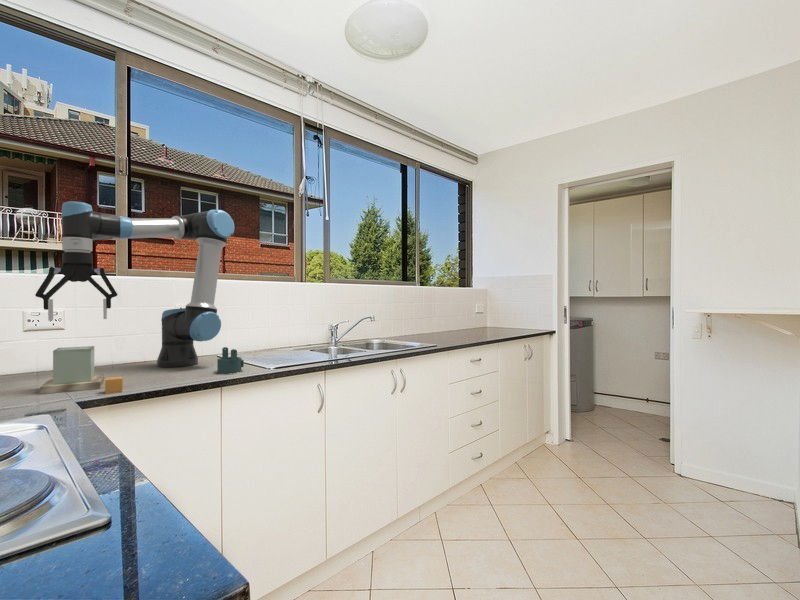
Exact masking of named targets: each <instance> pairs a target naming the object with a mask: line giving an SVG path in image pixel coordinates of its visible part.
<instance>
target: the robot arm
mask: <svg viewBox="0 0 800 600" xmlns="http://www.w3.org/2000/svg"><path fill="white" fill-rule="evenodd" d="M60 218H61V233H62V234H61V235H62V237H61V246H62V247H61V249H62V250H63V253H61V254H62V255H61V256H62V258H61V259H62V260H61V262H62V265H61V267H54V266H50V267H49V268H48V274H47V275H46V277H45V279H44V281H43V282H42V283H41V285H40V286H39V288H38V289H37V291H36V293H35V294H34V297H36V298H40V299H42V300H43V309H44V311H45V310H48V311H47V315H48V317H47V319H48V321H49V322H50V321H51V322H52V321H54V299H52V298H51V297H53V295H55V294H56V292H58V291H59V290H60V289H61V288H62V287H64V285H65V284H66V283H68V282H73V283H76V282H81V283H85V282H89V283H90V284H91V285H92V286H93V287H94V288H95V289H97V290H98V292H99V293H100V294H101V295H102V296H103V297H105V298H103V299H102V302H103V306H102V307H103V309H102V311H103V313H102V314H103V316H102V317H103V320H107V319H108V309H111V308H112V299H113V298H115V297H118V292H117V291H116V290H115V288H114V286H113V285H112V283H111V281H110V279H109V278H108V276H107V275H106V271H105V268H103V267H100V268H94V265H93V264H94V262H93V261H94V259H93V258H94V256H93V253H91V252H93V249H94V248H93V242H94V241H100V240H104V241H105V240H122V239H123V240H124V239H125V240H126V239H149V238H151V239H153V238H174V239H175V240H194V241H196V242H197V244H198V250H197V251H198V252H197V258H196V263H195V270H194V277H193V285H192V291H191V298H190V302H189V303H187V304H186V305H185V308H172V309H166V310H164V311H163V312H162V314H161V319H160V321H161V349H160V352H159V354H158V357H157V360H156V366H157V367H160V368H176V367H177V368H180V367H188V366H194V365H197V364H199V357H198V354H197V352H196V348H195V345H194V342H195V341H196V342H207V341H211V340H213V339H214V338H216V337H217V335H218V334H219V333H220V331H221V327H222V320H221V319H220V316H219V314H217V313H218V308H217V307H216V305H215V298H216V293H217V285H218V284H217V283H218V278H219V273H220V271H219V270H220V263H221V256H222V249H223V248H224V247H226V246H227V242H228V238H230V237H232V236H233V235H234V232H235V223H234V219H233V218H232V216H231V215H230V214H229V213H228V212H226V211H224V210H222V209H210V210H206V211H200V212H194V213H190V214H185V215H173V216H172V217H171V218H169V217H168V218H167V217H166V218H165V217H164V218H161V217H159V218H155V217H154V218H151V217H150V218H148V217H147V218H146V217H141V218H139V217H138V218H137V217H136V218H135V217H134V218H133V217H132V218H131V217H127V216H122V215H121V214H119V215H116V214H112V213H111V214H110V213H105V212H103V213H102V212H97V211H93V206H92V205H91V204H89V203H86V202H83V201H82V202H81V201H72V200H70V201H65V202H63V203H62V205H61V216H60ZM59 273H61V274H62V275H63V277H62V278H61V279H60V280H59V281H58V282H57V283H56V284H54V286H53V287H51V289H49V290H48V291H47V292H46V290H47V288H49V285H50V284H51V282H52V281H53V279H54V278H55V275H58V274H59ZM95 273H96V274H97V275H98V276H100V277H101V279H102V281H103V282H104V284H105V285H106V286H107V288H108V290H109V291H110V293H109V292H108V291H106V290H105V289H104V288H103V287H102V286H101V285H100V284H99V283H98V282H97V281H96V280H95V279H94V278H92V276H93V275H94V274H95ZM45 292H46V293H45Z"/></svg>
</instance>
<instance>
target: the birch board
mask: <svg viewBox="0 0 800 600" xmlns="http://www.w3.org/2000/svg"><path fill="white" fill-rule="evenodd" d="M104 383H105V375H104V374H99V375H94V378H93V379H92V381H91V382H79V383H67V384H55V385H53V378H50V379H48V380H47V381H46V382H44V383H43V384H42V385H41V386H39V394H40V395H44V394H55V393H57V394H58V393H68V392H77V391H78V392H79V391H88V390H99V389H101V388H102V386H103V384H104Z"/></svg>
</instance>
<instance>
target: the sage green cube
mask: <svg viewBox="0 0 800 600" xmlns="http://www.w3.org/2000/svg"><path fill="white" fill-rule="evenodd" d="M94 376H95V345H91V346H89V345H88V346H70V347H69V346H68V347H58V348H56V349H53V350H52V379H53V385H55V384H67V383H79V382H91V381H92V379H93V378H94Z"/></svg>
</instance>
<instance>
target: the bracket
mask: <svg viewBox="0 0 800 600" xmlns="http://www.w3.org/2000/svg"><path fill="white" fill-rule="evenodd" d="M221 350H222V353H221V356H222V357H219V358H217V374H219V373H220V374H222V375H229V374H228V373H232V374H238V373H237V372H239V373H241V372H242V368H244V365H245V363H244V362H245V361H244V359H242V357H241V356H238V350H237V349H234V348H232V349H231V350H230V356H229V347H226V346H223V347H222V349H221ZM240 371H241V372H240Z"/></svg>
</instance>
